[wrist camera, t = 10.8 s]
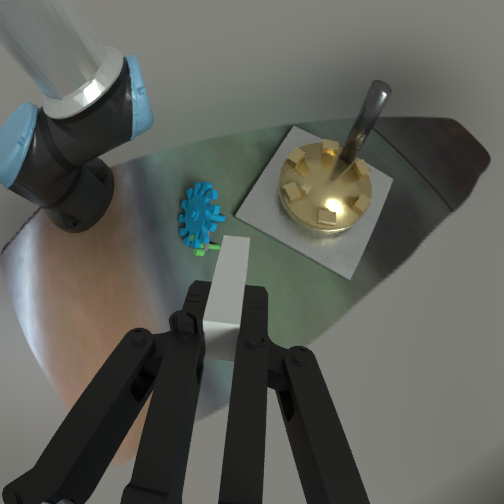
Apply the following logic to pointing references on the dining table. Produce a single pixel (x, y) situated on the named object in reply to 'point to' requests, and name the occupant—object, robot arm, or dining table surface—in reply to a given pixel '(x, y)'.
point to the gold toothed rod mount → (332, 174)
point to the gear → (200, 218)
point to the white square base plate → (298, 237)
